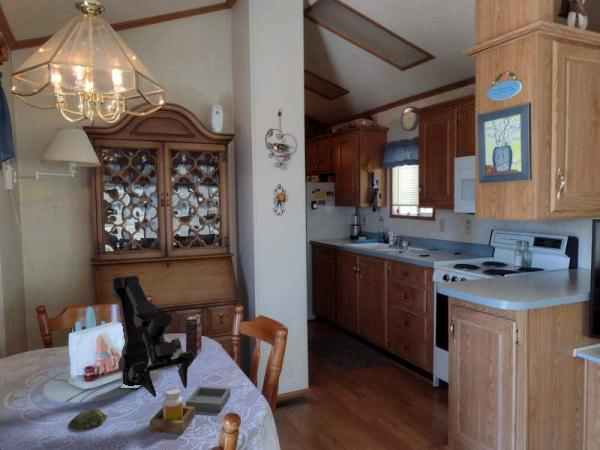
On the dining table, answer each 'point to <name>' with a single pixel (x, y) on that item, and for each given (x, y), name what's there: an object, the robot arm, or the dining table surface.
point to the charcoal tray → (209, 398)
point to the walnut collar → (172, 422)
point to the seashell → (87, 419)
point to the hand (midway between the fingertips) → (171, 391)
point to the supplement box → (194, 334)
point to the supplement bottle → (173, 405)
